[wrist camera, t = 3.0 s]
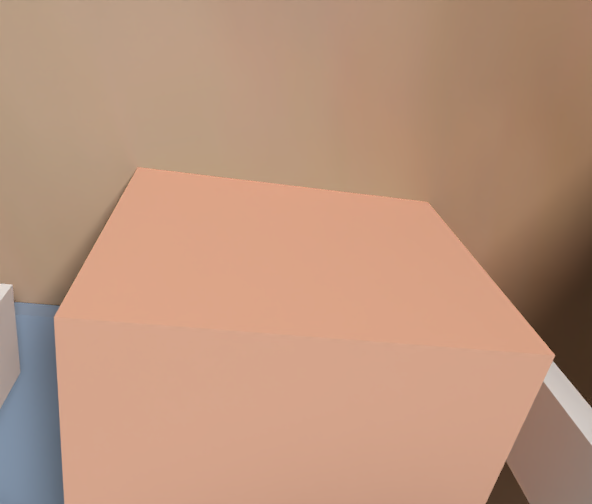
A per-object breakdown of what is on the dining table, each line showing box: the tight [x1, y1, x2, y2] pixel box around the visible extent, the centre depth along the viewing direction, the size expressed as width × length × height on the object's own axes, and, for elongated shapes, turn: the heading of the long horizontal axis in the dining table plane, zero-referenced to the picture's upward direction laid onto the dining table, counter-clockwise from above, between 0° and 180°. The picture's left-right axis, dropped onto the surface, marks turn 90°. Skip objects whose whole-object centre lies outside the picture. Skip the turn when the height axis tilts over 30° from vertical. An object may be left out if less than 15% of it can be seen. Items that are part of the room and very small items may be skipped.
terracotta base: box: [54, 167, 555, 504], centre depth 13 cm, size 8×8×7 cm
